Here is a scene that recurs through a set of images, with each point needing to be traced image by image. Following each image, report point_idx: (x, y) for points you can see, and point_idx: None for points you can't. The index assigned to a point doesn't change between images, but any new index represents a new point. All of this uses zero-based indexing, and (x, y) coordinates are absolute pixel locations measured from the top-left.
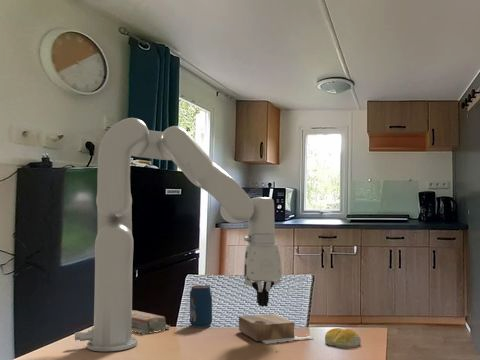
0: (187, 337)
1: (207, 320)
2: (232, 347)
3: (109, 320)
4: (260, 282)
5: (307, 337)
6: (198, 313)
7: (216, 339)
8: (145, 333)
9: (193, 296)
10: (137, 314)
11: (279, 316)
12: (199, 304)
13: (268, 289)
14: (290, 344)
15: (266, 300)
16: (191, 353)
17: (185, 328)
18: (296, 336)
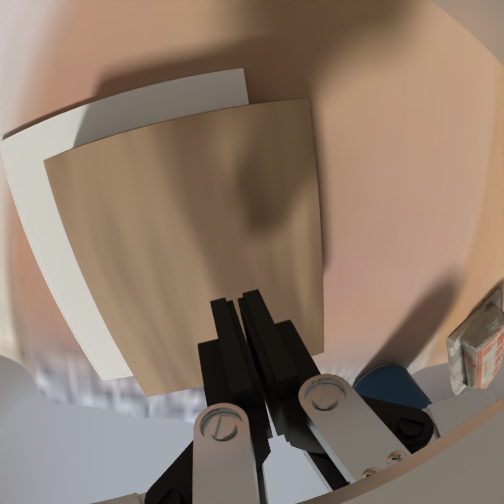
0: (455, 249)
1: (378, 381)
2: (385, 64)
3: None
4: (364, 468)
5: (19, 143)
6: (414, 387)
7: (405, 205)
8: (496, 291)
9: None
10: (495, 361)
11: (116, 341)
12: (426, 407)
13: (217, 427)
14: (123, 42)
15: (227, 326)
16: (480, 60)
17: (417, 351)
18: None
